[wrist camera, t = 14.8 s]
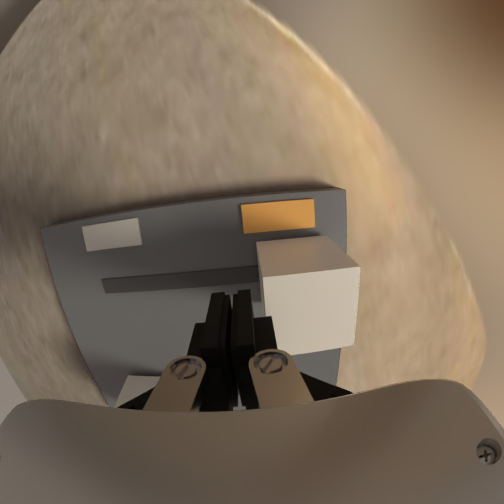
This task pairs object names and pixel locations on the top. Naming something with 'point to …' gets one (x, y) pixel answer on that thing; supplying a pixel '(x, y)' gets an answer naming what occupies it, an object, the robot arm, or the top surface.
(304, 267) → the front slider
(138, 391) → the back slider
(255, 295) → the switch panel
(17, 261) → the top surface
